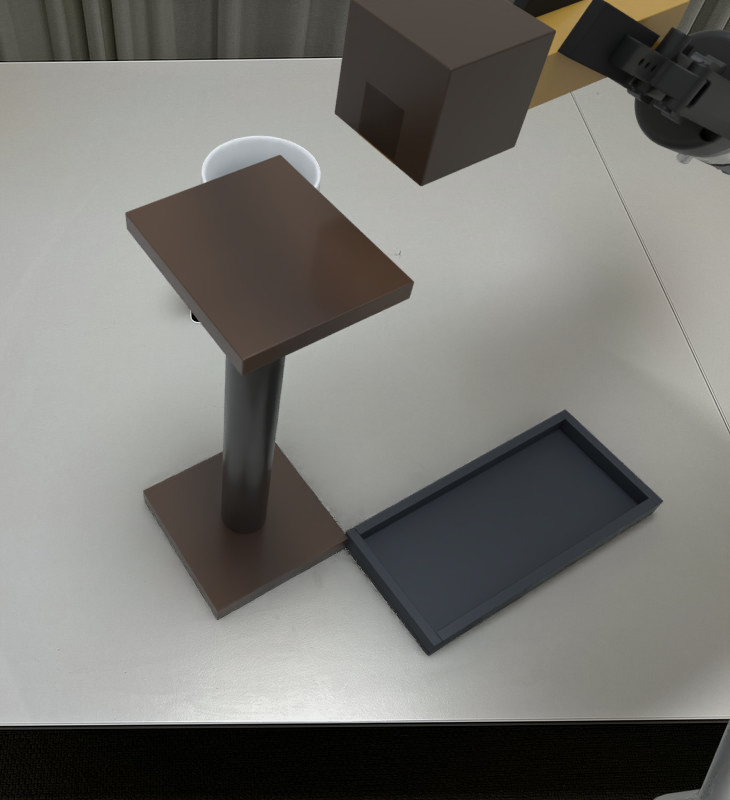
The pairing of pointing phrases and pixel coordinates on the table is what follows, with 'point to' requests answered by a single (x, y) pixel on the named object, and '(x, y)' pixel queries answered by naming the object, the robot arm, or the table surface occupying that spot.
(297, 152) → the mug
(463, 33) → the mallet
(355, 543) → the tray
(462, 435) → the table surface
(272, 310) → the pedestal stand
